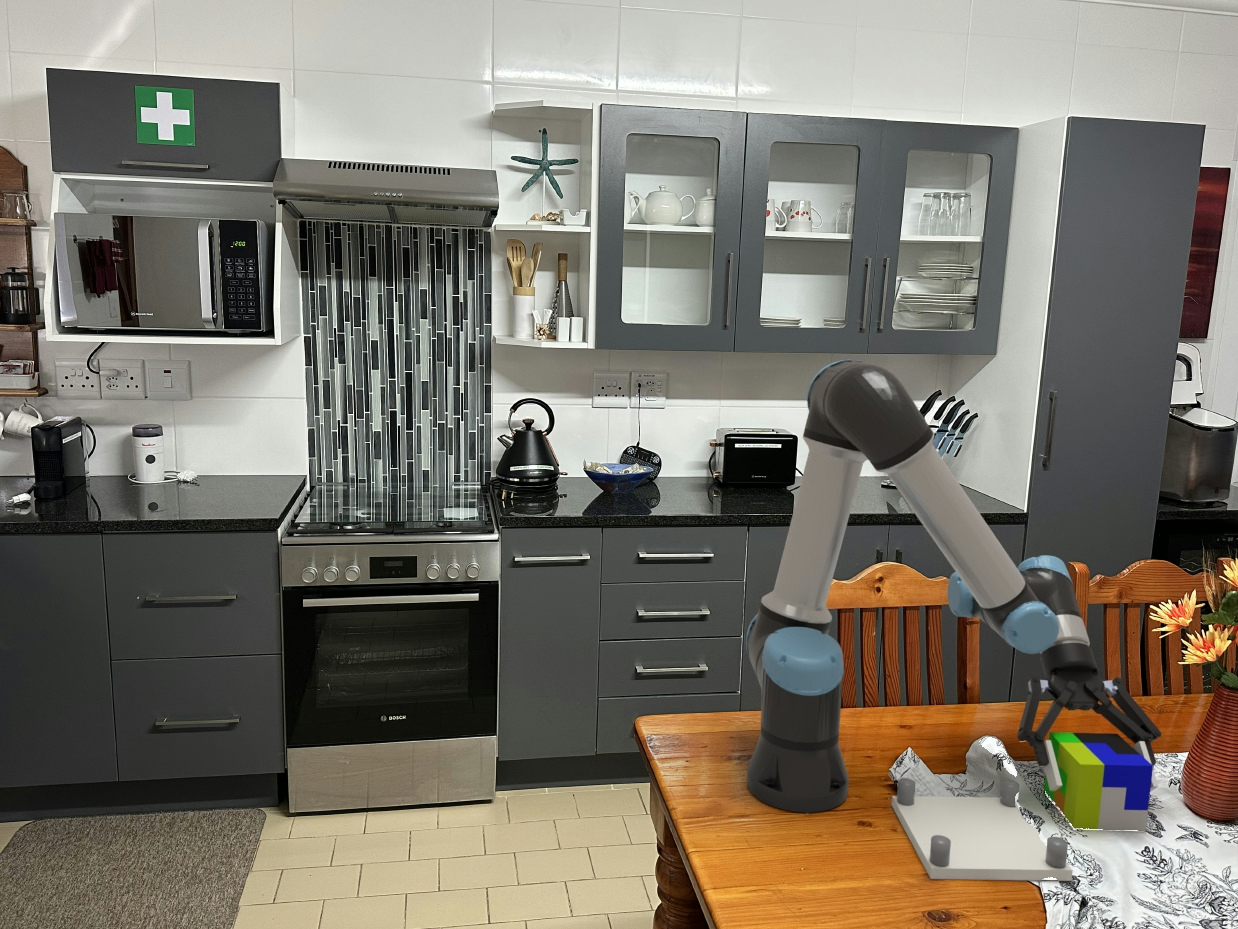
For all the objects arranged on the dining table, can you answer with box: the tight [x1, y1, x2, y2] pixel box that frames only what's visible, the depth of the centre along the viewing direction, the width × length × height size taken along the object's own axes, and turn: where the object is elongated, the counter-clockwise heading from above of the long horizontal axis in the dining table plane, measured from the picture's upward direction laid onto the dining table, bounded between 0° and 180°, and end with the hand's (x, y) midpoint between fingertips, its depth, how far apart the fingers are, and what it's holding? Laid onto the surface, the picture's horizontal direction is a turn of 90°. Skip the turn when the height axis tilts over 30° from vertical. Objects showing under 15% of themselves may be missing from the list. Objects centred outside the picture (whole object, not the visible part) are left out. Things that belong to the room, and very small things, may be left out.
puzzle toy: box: [1043, 731, 1154, 833], centre depth 137 cm, size 10×10×10 cm
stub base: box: [891, 777, 1073, 882], centre depth 130 cm, size 18×18×4 cm
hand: (1104, 789), depth 135 cm, fingers open, 13 cm apart
